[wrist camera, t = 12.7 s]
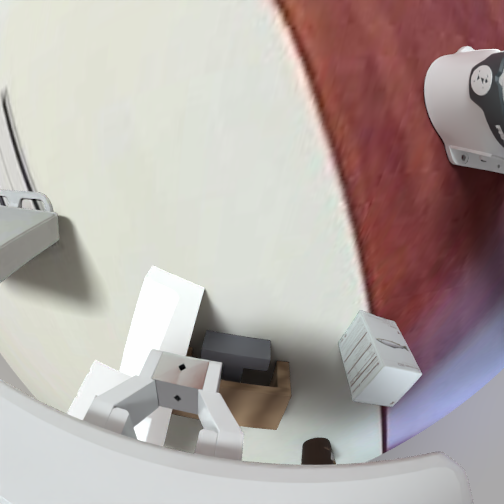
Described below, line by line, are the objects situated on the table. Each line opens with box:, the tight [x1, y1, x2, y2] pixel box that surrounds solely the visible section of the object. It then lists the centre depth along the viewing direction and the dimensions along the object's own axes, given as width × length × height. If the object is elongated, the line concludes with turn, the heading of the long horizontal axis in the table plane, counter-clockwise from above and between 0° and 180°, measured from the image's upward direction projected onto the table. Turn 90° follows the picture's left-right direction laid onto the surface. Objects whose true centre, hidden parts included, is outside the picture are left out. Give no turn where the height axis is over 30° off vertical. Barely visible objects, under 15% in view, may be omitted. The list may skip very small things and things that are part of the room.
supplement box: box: [338, 310, 422, 407], centre depth 38 cm, size 7×7×13 cm
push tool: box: [201, 330, 270, 383], centre depth 47 cm, size 10×20×4 cm, turn 171°
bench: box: [171, 347, 291, 430], centre depth 45 cm, size 18×10×8 cm, turn 81°
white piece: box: [67, 266, 205, 447], centre depth 35 cm, size 35×8×28 cm, turn 154°
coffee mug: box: [301, 438, 336, 465], centre depth 54 cm, size 12×9×10 cm
